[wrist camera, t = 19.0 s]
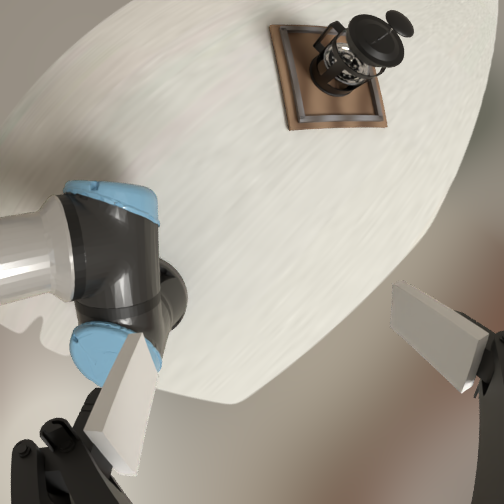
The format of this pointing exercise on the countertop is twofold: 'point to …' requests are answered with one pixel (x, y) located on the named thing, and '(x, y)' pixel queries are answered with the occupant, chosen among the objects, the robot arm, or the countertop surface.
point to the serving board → (313, 99)
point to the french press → (360, 51)
